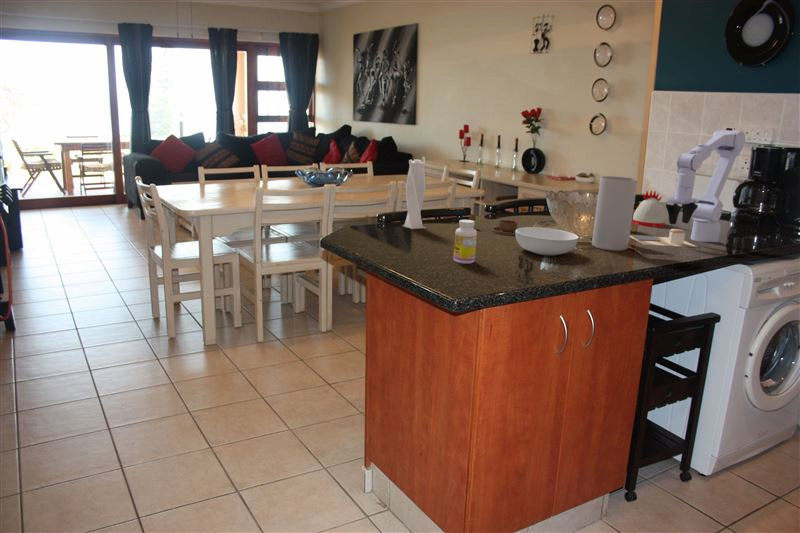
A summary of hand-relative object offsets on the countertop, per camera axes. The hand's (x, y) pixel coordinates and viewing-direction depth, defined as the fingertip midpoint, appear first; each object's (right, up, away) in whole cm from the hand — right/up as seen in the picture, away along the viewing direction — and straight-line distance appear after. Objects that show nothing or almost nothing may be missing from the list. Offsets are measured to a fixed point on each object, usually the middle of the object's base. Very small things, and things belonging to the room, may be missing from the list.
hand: (678, 223), depth 236 cm
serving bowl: (-54, -11, -18) cm, 58 cm away
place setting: (-64, -2, +16) cm, 66 cm away
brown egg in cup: (0, -7, +2) cm, 7 cm away
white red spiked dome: (+8, +3, +50) cm, 51 cm away
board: (-5, -8, +5) cm, 10 cm away
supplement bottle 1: (-83, -15, -37) cm, 92 cm away
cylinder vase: (-27, -9, -5) cm, 29 cm away
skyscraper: (-98, -1, +13) cm, 99 cm away
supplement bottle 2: (-13, -3, +23) cm, 27 cm away
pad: (-10, -5, +7) cm, 13 cm away
